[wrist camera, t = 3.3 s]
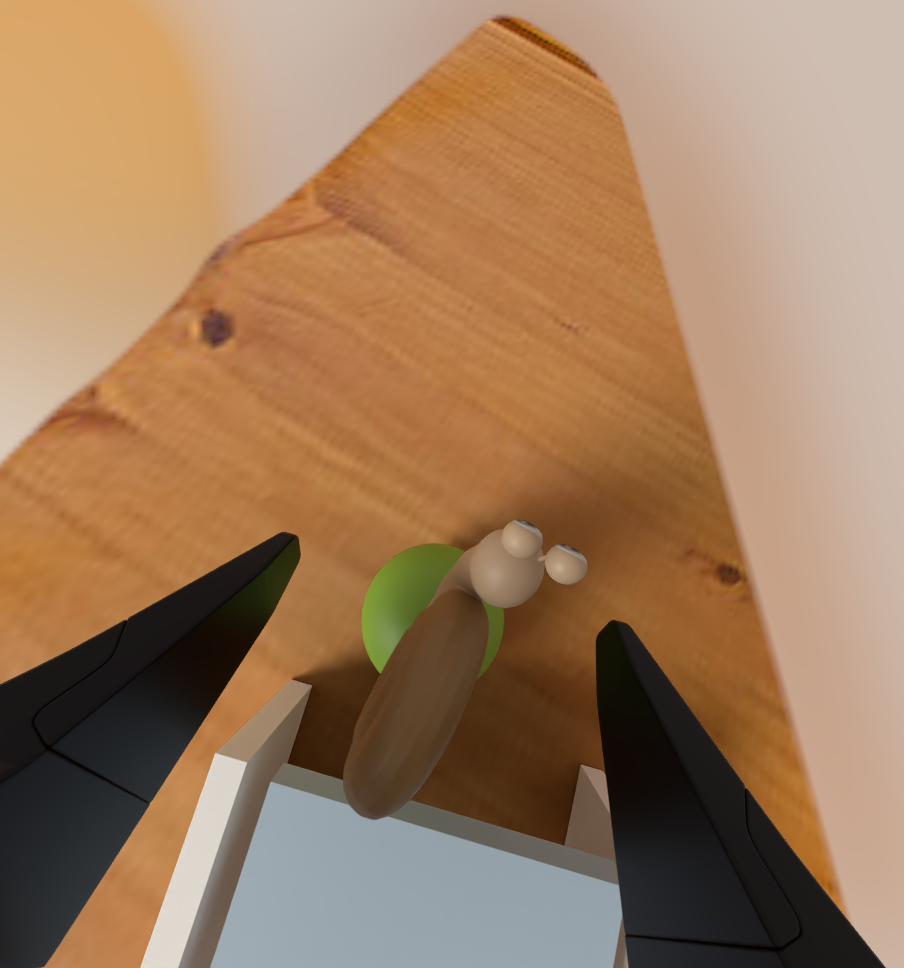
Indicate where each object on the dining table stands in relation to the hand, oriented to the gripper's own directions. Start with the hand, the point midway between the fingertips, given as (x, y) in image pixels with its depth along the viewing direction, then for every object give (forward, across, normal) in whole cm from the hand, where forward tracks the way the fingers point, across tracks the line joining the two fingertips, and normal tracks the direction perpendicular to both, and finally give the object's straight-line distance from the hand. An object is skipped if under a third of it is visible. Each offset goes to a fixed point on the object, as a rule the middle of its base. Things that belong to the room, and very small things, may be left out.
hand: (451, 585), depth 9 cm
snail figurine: (+4, 0, +6) cm, 7 cm away
